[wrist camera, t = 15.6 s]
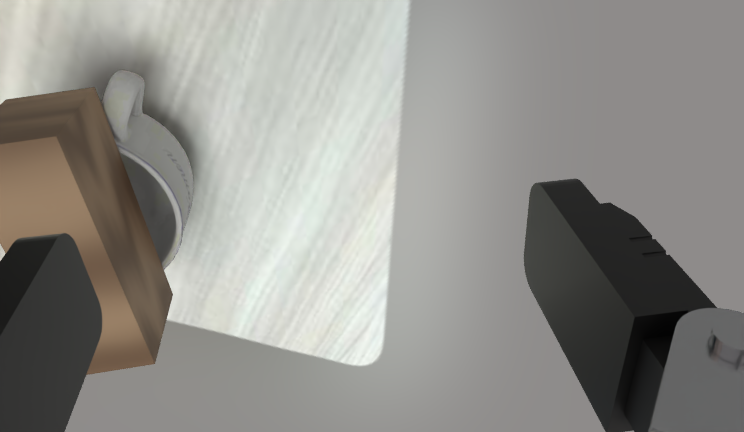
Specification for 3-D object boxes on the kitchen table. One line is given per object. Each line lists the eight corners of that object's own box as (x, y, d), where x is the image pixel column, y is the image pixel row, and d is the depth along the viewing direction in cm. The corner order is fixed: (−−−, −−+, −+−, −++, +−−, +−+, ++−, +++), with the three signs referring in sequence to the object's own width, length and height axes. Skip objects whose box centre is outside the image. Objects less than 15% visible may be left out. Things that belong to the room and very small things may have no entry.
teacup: (160, 246, 46) (138, 316, 39) (11, 181, 42) (-42, 248, 35) (249, 99, 40) (240, 152, 34) (88, 8, 36) (42, 48, 29)
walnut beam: (6, 99, 31) (-50, 151, 26) (94, 87, 31) (56, 136, 26) (102, 305, 38) (73, 376, 33) (172, 294, 38) (154, 363, 33)
